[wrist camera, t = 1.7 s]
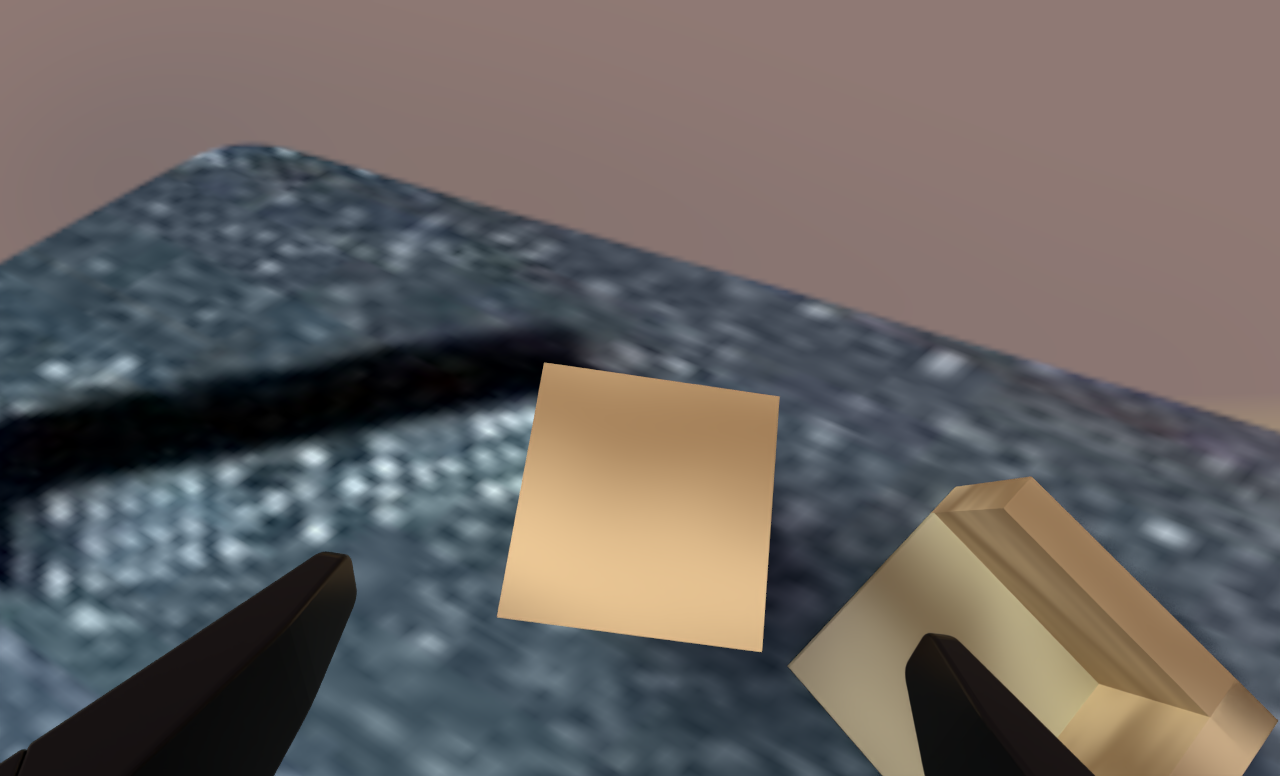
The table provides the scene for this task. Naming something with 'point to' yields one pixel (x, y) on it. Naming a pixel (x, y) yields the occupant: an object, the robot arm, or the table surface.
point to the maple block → (645, 509)
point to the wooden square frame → (1032, 644)
